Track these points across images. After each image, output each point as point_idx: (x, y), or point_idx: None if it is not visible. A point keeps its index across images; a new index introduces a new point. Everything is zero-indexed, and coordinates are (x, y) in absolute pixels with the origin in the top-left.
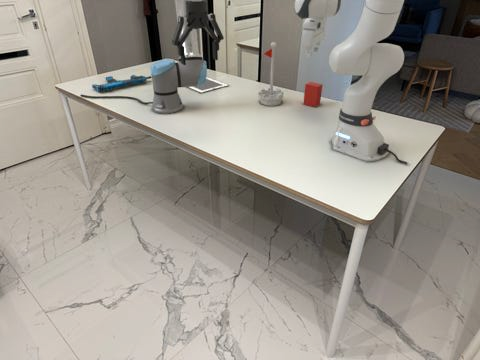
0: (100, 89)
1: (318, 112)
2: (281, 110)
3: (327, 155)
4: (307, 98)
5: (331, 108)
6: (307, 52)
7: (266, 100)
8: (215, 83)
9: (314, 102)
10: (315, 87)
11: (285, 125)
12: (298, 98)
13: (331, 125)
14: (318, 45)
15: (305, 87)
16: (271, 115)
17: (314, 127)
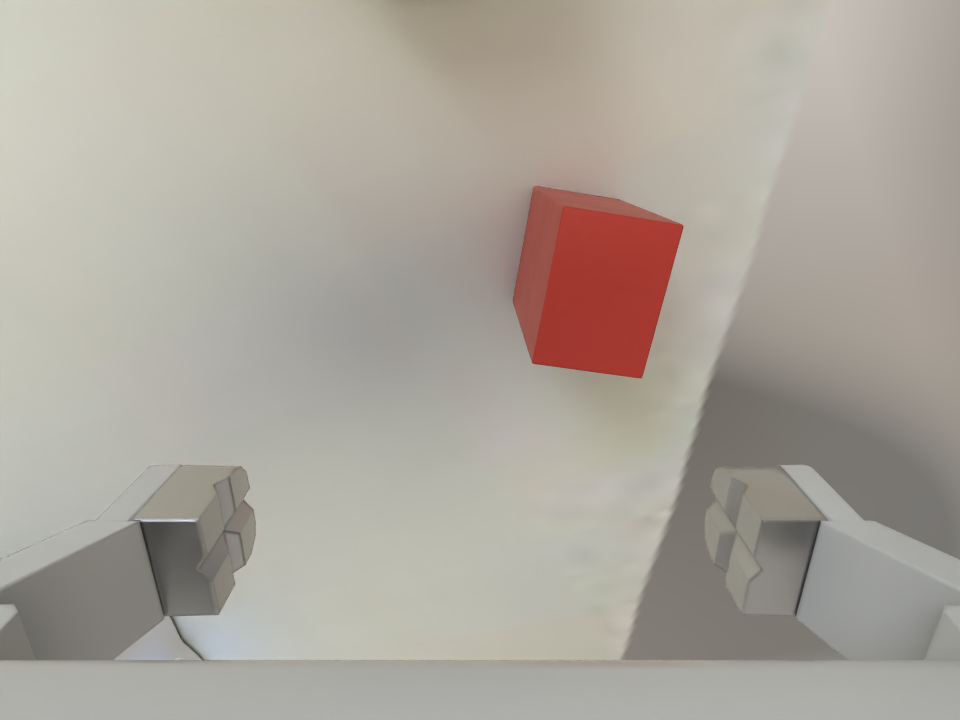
0: None
1: (419, 358)
2: (285, 62)
3: None
4: (533, 231)
5: (547, 413)
6: (107, 528)
7: None
8: None
9: (518, 300)
10: (534, 334)
11: (27, 234)
12: (664, 83)
13: (250, 498)
14: (857, 658)
15: (555, 208)
16: (119, 27)
17: (146, 421)
